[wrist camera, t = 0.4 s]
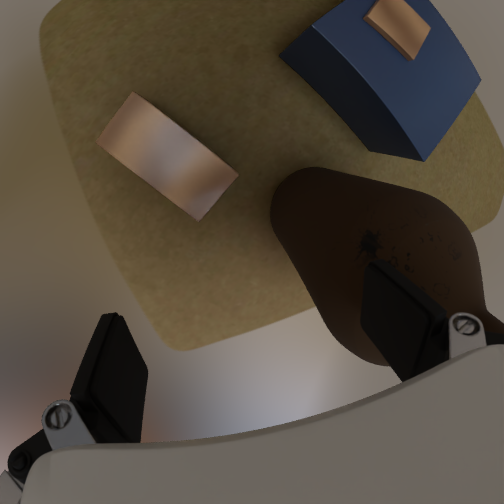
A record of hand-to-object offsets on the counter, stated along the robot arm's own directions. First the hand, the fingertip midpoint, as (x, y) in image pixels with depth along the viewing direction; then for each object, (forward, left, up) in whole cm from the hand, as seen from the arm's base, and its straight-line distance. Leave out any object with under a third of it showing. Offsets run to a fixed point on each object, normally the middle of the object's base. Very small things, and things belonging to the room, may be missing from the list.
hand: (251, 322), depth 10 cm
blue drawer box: (-22, +1, -19) cm, 29 cm away
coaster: (-22, -2, -10) cm, 24 cm away
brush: (-1, -7, -19) cm, 20 cm away
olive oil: (-6, +8, -19) cm, 21 cm away
